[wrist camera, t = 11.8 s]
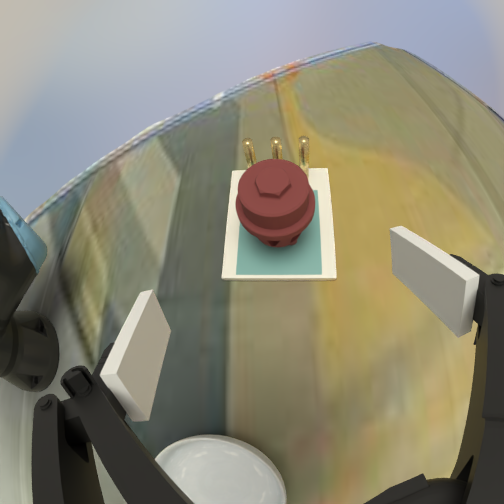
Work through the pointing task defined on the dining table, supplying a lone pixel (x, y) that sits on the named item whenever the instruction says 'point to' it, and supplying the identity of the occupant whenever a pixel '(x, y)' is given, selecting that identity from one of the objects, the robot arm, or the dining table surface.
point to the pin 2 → (276, 148)
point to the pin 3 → (304, 154)
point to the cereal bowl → (222, 471)
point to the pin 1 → (249, 151)
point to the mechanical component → (275, 202)
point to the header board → (289, 257)
